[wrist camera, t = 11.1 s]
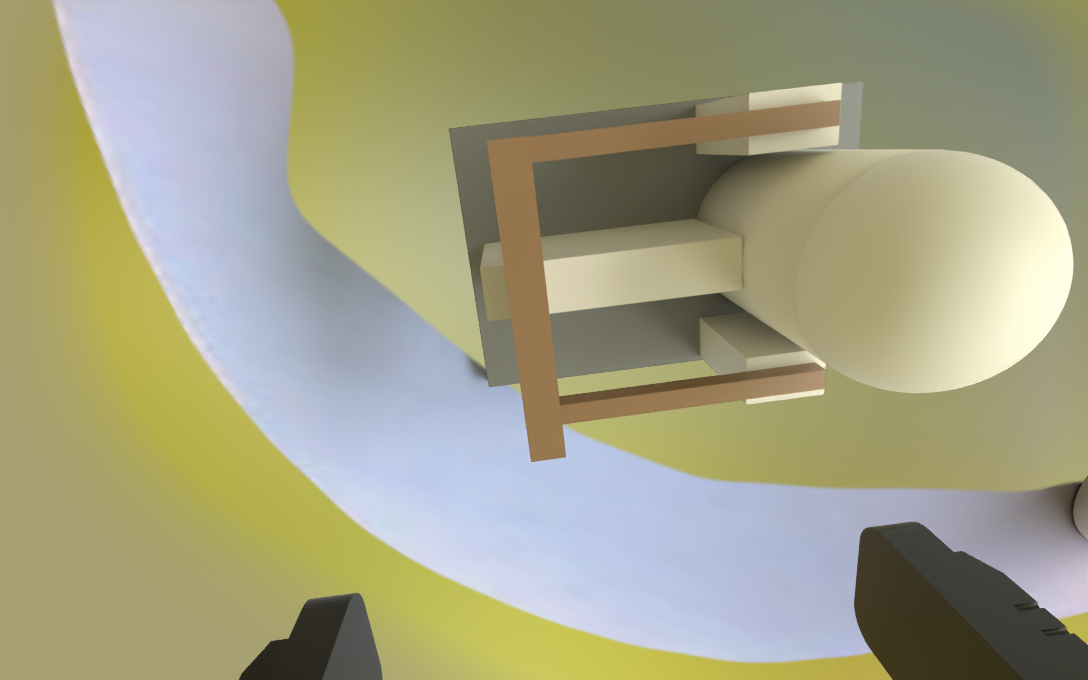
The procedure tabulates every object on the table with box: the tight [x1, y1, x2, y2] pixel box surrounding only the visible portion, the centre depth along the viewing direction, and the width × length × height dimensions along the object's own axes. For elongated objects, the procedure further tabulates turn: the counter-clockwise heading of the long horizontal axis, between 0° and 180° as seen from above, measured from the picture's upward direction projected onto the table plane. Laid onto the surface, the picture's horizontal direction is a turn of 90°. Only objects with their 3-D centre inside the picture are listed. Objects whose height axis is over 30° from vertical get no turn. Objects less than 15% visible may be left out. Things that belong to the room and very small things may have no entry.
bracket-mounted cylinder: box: [449, 81, 1073, 404], centre depth 25 cm, size 22×15×18 cm, turn 96°
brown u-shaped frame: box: [487, 100, 841, 462], centre depth 24 cm, size 14×13×4 cm
